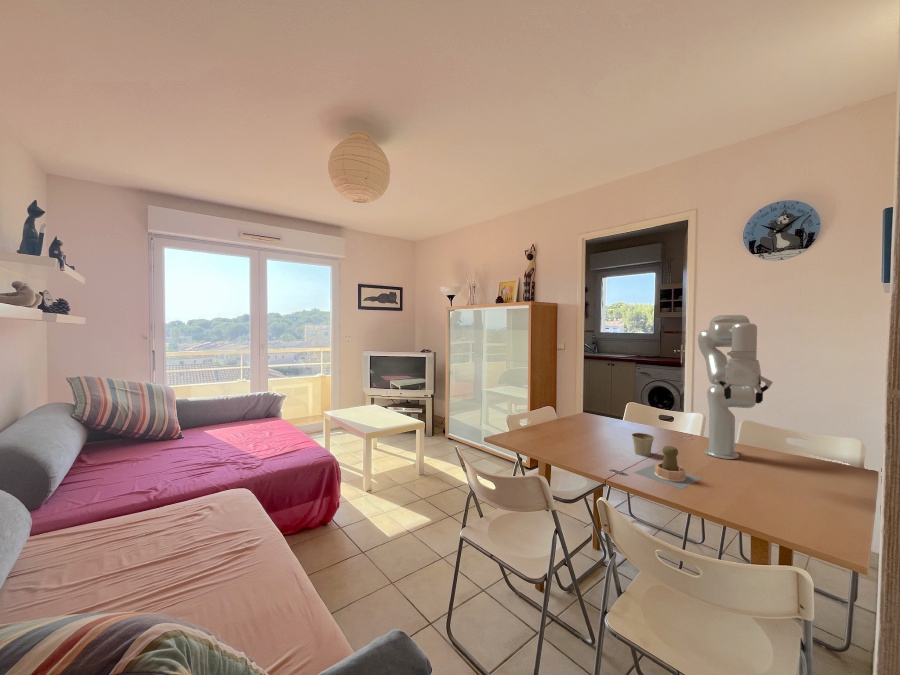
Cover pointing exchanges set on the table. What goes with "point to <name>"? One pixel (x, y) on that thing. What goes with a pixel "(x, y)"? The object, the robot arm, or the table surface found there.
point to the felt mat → (650, 473)
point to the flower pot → (642, 443)
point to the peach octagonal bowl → (670, 473)
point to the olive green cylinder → (670, 458)
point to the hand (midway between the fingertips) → (742, 400)
